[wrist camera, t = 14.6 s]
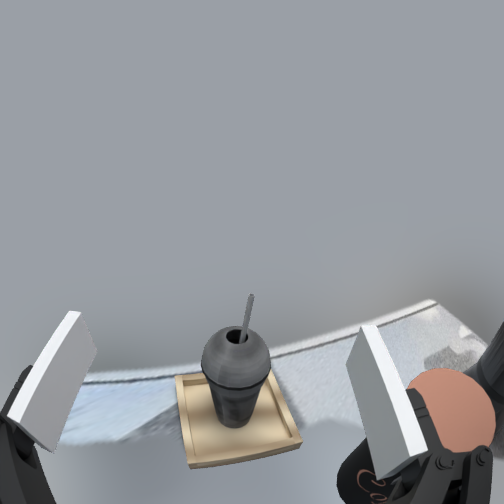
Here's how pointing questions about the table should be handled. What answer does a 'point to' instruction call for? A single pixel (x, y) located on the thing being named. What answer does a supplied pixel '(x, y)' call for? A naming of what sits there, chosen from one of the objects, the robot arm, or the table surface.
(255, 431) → the tray
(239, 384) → the beverage cup
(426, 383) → the coffee jar
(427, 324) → the table surface
